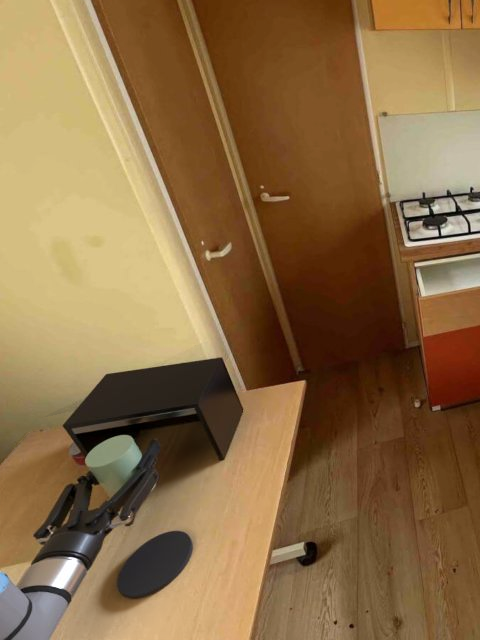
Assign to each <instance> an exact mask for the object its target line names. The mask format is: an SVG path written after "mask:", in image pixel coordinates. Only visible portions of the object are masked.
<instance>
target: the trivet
mask: <svg viewBox="0 0 480 640" xmlns="http://www.w3.org/2000/svg"><path fill="white" fill-rule="evenodd" d="M193 543H194V542H193V540H192V539H191V537H190V535H189V534H188V533H186V532H185V531H182V530H171V531H167V532H166V531H165V532H163V533H159V534H158V535H156V536H154V537H152V538H151V539H149V540H147V541H145V542H144V543H143V544H141V545H140V546H139V547H138V548H136V550H134V552H133V553H132V554H131V555H130V556H129V557H128V558H127V559H126V561H125V562H124V563H123V565H122V567H121V569H120V571H119V573H118V576H117V581H116V587H117V590H118V592H119V593H120V594H121V595H122V596H123V597H124V598H126V599H128V600H129V599H130V600H139V599H144V598H148V597H150V596H152V595H154V594H156V593H159V592H160V591H162V590H163V589H164V588H166V587H167V586H169V585H170V584H171V583H172V582H173V581H174V580H175V579H176V578H178V577H179V575H180V574H181V573H182V572H183V571H184V569H185V568H186V567H187V565H188V563H189V561H190V559H191V558H192V554H193V550H194V544H193Z"/></svg>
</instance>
